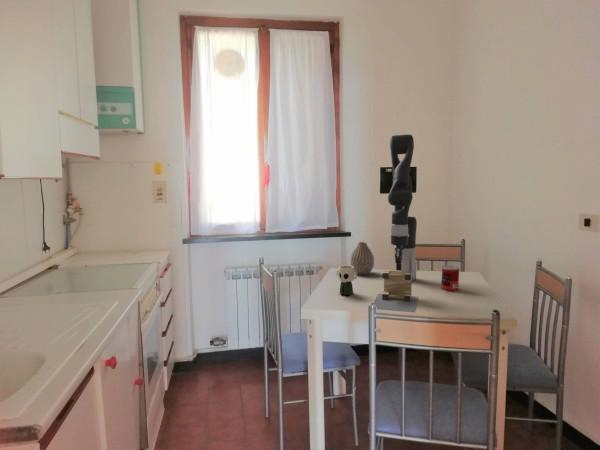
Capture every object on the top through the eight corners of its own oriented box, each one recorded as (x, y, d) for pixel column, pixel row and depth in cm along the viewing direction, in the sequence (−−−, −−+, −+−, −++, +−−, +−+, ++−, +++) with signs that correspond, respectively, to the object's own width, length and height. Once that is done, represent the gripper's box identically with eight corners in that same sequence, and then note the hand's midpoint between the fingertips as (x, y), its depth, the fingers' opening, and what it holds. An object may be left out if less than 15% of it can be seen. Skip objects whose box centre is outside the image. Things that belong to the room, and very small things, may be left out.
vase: (348, 271, 253) (348, 240, 251) (371, 270, 254) (371, 240, 252) (352, 276, 240) (352, 244, 238) (376, 276, 241) (377, 244, 239)
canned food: (459, 288, 216) (459, 265, 214) (457, 292, 208) (458, 269, 207) (442, 286, 219) (443, 264, 217) (440, 290, 212) (441, 268, 210)
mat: (378, 294, 206) (378, 293, 206) (418, 297, 200) (418, 296, 200) (370, 309, 184) (370, 308, 184) (415, 313, 179) (415, 312, 179)
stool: (410, 301, 193) (410, 274, 191) (382, 299, 196) (382, 273, 195) (411, 297, 199) (411, 271, 198) (384, 295, 203) (384, 269, 201)
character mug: (332, 294, 208) (332, 266, 206) (340, 290, 213) (340, 264, 211) (352, 298, 201) (352, 269, 199) (360, 294, 206) (360, 267, 205)
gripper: (392, 231, 208) (392, 268, 211) (389, 235, 196) (388, 274, 198) (409, 232, 206) (408, 269, 208) (406, 236, 194) (405, 275, 196)
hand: (398, 271), depth 203 cm, fingers closed
